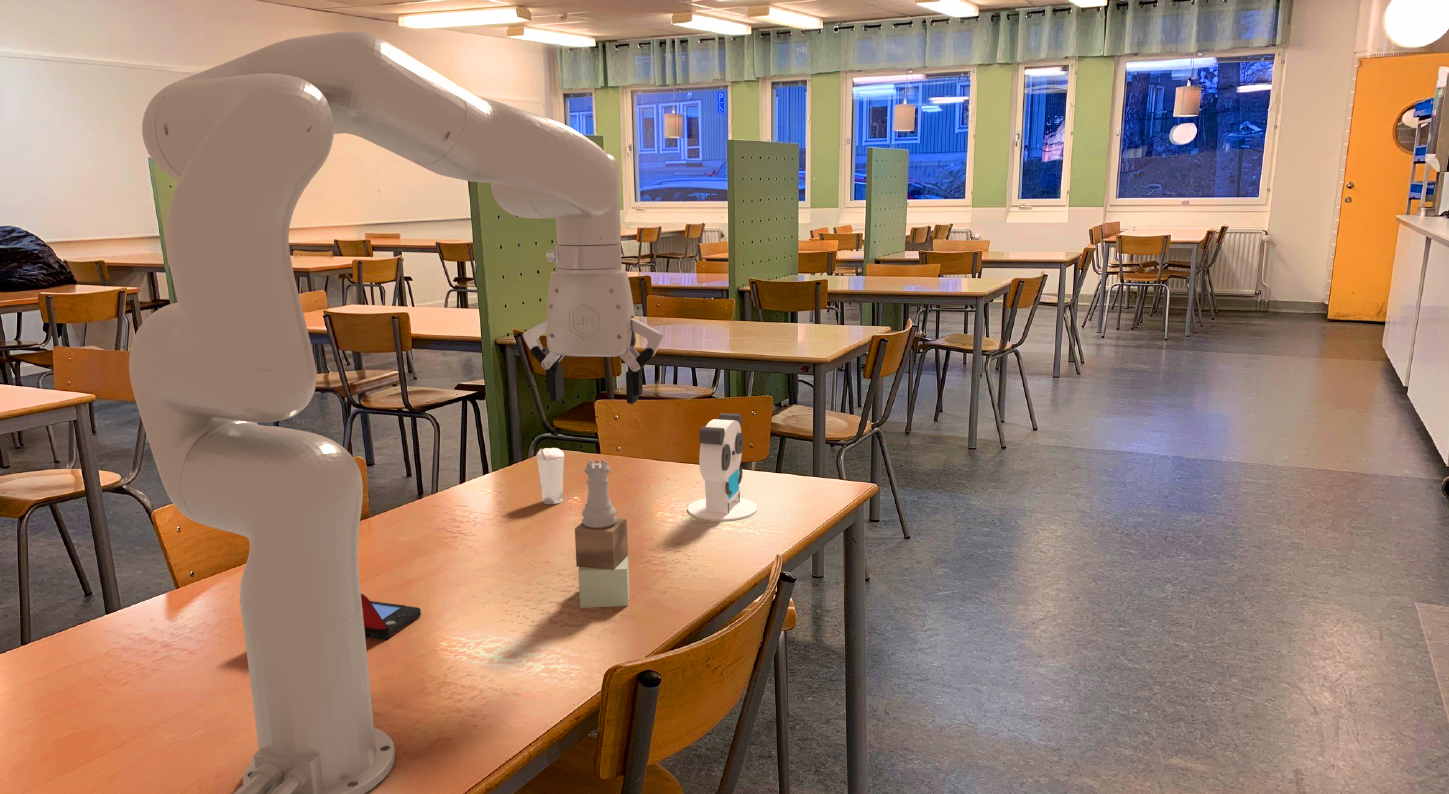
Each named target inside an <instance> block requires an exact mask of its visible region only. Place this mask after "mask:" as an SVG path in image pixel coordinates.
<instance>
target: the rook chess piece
mask: <svg viewBox="0 0 1449 794" xmlns="http://www.w3.org/2000/svg"><path fill="white" fill-rule="evenodd" d="M586 464H587V465H586V467H585V468H584V473H585V474H586V476H587V477H588V479H587V481H586V484H587V486H588V493H587V501H586V504H584V508H583V509H582V513H581V516H582V517H583V518H582V519H581V523H583V524H584V525H585V526H586V527H588V528H593V529H602V528H608V527H611V526H613V525H614V524H615V522H616V521H617V518H618V517H616V515H617V510H616V508H615V507H614V506H613V503H612V500H611V499H610V493H609V490H608V484H609V482H610V480H609V479H608V474H609V473H610V471H611V467H609V465H608V461H606V460H604V459H602V460H601V463H600V459H595V463H594V460H589V461H587V462H586Z"/></svg>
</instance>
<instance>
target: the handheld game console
mask: <svg viewBox="0 0 1449 794" xmlns="http://www.w3.org/2000/svg"><path fill="white" fill-rule="evenodd" d="M361 601H362V609H363V619H364V629H365V638H370V639H371V638H372V639H377V640H384V641H385V640H390V639H391V637H392V636H394V635H396V634H398V632H400V631H401V630H403V629H405V628H406V627H407V626H408V625H411V624H412V623H413V622H414V621H416V620H417V619H419V617H421V616H422V612H421V610H422V609H421V608H420V607H418V606H416V607H415V606H409V605H408V606H407V605H404V604H397V603H388V602H383V601H382V602H380V601H375V600H374V601H372V600H369V598H368V597H367V596H366V595H365V594H363V593H361Z"/></svg>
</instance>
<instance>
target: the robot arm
mask: <svg viewBox="0 0 1449 794" xmlns="http://www.w3.org/2000/svg"><path fill="white" fill-rule="evenodd" d="M141 126H142V127H141V129H142V131H141V132H142V133H141V135H142V139H143V143H144V146H145V149H146V151H147V153H148V155H149V157H150V158H151V159H152V161H153V162H154V164H155V165H156V166H157V167H158V168H159V169H160V170H161V171H162V172H164V173H165V174H166V175H168V176H169V177H171V178H172V179H173V180H176V181H178V182H177V185H176V187H175V189H174V192H173V195H172V197H171V201H170V203H169V206H168V211H167V216H166V219H165V220H166V221H165V228H164V230H165V234H164V235H165V236H164V237H165V238H164V239H165V251H166V256H167V260H168V266H169V270H170V274H171V279H172V282H173V288H174V292H175V293H174V294H175V298H176V301H177V302H174V303H170V304H167V305H164V306H162V307H161V308H159V309H157V310H156V311H154V312H152V313H151V314H150V315H148V316H147V318H146V319H144V321H143V322H142V323H141V325H140V326H139V327H138V328H137V330H136V333H135V335H134V337H133V340H132V341H131V345H130V351H129V360H128V361H129V362H128V371H129V380H130V384H131V385H130V386H131V388H132V389H131V390H132V391H133V396H134V399H135V402H136V405H137V410H138V412H139V415H140V418H141V422H142V425H143V428H144V431H145V434H146V438H147V440H148V443H149V447H150V450H151V453H152V456H153V459H154V462H155V465H156V468H157V472H158V475H159V477H160V478H159V479H160V480H161V483H162V485H163V487H164V489H165V491H166V492H165V493H166V494H167V496H168V498H169V499H170V501H171V502H172V504H173V505H174V507H175V508H176V509H177V510H178V511H179V512H180V513H181V515H183V516H184V517H186V518H187V519H188V520H191V521H193V522H195V523H197V524H200V525H203V526H206V527H209V528H212V529H215V530H221V531H224V532H229V533H233V534H236V535H239V536H242V537H245V538H247V539H248V541H249V552H248V557H247V559H246V563H245V566H244V569H243V572H242V576H241V580H240V587H239V603H240V604H239V605H240V613H241V621H242V625H243V627H242V628H243V634H244V643H245V650H246V658H247V666H248V675H249V681H250V690H251V696H252V705H253V713H254V721H255V731H256V737H257V738H256V739H257V745H258V750H257V751H256V752H254V754H253V755H252V756H253V759H252V761H250V763H249V764H248V766H247V767H246V769H245V771H244V773H243V776H242V778H243V779H242V785H241V787H240V788H238V790H236V791H235V792H234V793H233V794H366V793H367V792H369V791H370V790H372V789H373V788H375V787H376V786H378V784H380V783H381V782H382V781H383V780H384V779H385V778H387V777H386V776H387V775H388V774H389V773H390V772H391V771H392V768H393V766H394V763H395V758H396V755H395V754H396V753H395V745H394V741H393V739H392V738H391V736H389V734H387V733H386V732H384V731H383V730H381V729H379V728H377V727H375V726H374V725H375V723H374V716H373V715H374V713H373V705H372V704H373V701H372V695H371V694H372V692H371V683H370V673H369V661H368V652H367V642H366V641H367V640H366V637H365V629H364V619H363V609H362V601H361V594H362V592H361V584H360V583H361V582H360V570H359V569H360V568H359V534H360V533H359V532H360V523H361V522H360V521H361V515H362V506H363V497H364V495H363V494H364V485H363V484H364V483H363V479H362V478H363V477H362V473H361V470H360V468H359V465H358V463H357V461H356V460H355V458H354V457H353V455H352V454H351V453H350V452H349V451H348V450H347V449H346V448H345V447H344V446H342V445H341V444H339V443H338V442H336V441H334V440H333V439H331V438H328V437H327V436H323V435H321V434H317V433H314V432H310V431H307V430H300V429H293V428H286V427H281V426H275V425H274V426H273V425H263V424H258V423H275V422H280V421H283V420H288V419H291V418H292V417H294V416H296V415H297V414H299V413H300V412H302V411H303V410H304V409H305V408H306V407H307V406H308V405H309V404H310V402H311V400H312V398H313V396H314V394H315V392H316V391H315V390H316V388H317V387H316V386H317V367H316V362H315V358H314V356H315V355H314V352H313V348H312V344H311V343H312V342H311V339H310V335H309V331H308V327H307V322H306V319H305V315H304V312H303V307H302V302H301V299H300V295H299V291H298V286H297V282H296V278H295V274H294V268H293V263H292V257H291V252H290V240H289V239H290V238H289V235H290V226H291V222H292V219H293V218H292V217H293V215H294V211H295V209H296V206H297V204H298V201H299V199H300V198H301V196H302V194H303V192H304V191H305V190H306V188H307V187H308V185H309V184H310V182H311V181H312V179H313V178H314V177H315V175H317V173H318V172H319V171H320V170H321V168H323V166H324V164H325V162H326V160H327V159H328V157H329V156H330V155H329V154H330V152H331V150H332V145H333V141H334V136H335V135H336V134H337V135H339V134H348V135H352V136H355V137H359V138H362V139H364V140H366V141H368V142H370V143H372V144H373V145H376V146H378V147H380V148H383V149H385V150H387V151H389V152H391V153H393V154H396V155H398V156H400V157H401V158H404V159H406V160H408V161H409V162H412V163H414V164H416V165H418V166H420V167H422V168H425V169H426V170H428V171H430V172H433V173H434V174H437V175H440V176H443V177H448V178H452V179H457V180H462V181H467V182H473V183H483V184H490V189H491V193H492V196H493V199H494V200H495V202H496V203H497V204H498V205H499V207H500V208H502V209H503V211H506V212H507V213H508V214H510V215H511V216H512V215H513V216H515V217H518V218H522V219H555V225H556V227H555V229H556V245H555V248H553V249H551V250H550V249H549V250H546V254H545V257H546V260H547V262H553V263H555V265H556V268H557V271H553V272H551V274H550V278H549V283H548V286H549V287H548V294H547V304H546V305H547V306H546V307H547V308H546V320H544V321H542V322H541V323H537V325H535V326H533V327H531V328H530V329H528V330H526V331H524V332H523V334H522V338H523V340H524V341H525V343H526V345H527V347H528V348H529V350H530V354H531V355H532V356H533V357H534V358H535V359H536V361H538V362H539V363H540V365H541V368H542V369H544V370H545V381H546V383H545V384H546V385H545V386H546V393H547V394H548V395H549V401H550V402H551V403H554V402H555V403H556V402H558V401H559V400H560V399H562V398H564V396H565V387H564V385H565V384H564V368H563V366H562V365H560V361H562V359H563V358H564V357H598V358H599V357H603V358H604V357H605V358H608V357H609V358H611V357H612V358H613V357H620V359H622V361H623V362H624V363H625V364H626V365H627V366H628V370H627V371H626V373H625V384H626V385H625V386H626V387H625V389H626V390H625V391H626V393H625V394H626V403H627V404H628V405H634V404H635V403H636V402H638V401H639V400H640V399H639V398H640V397H641V396H642V395H643V368H644V367H645V366H646V364H648V362H650V360H652V359H653V358H654V356H655V355H656V353H657V351H658V349H659V347H660V345H661V343H662V342H663V339H664V334H663V333H662V332H660V331H658V330H657V329H655V328H653V327H652V326H649V325H648V324H646V323H644V322H642V321H640V320H638V319H636V318H635V317H636V316H635V306H634V301H633V295H632V290H631V289H632V288H631V284H630V280H629V276H628V272H627V270H622V237H621V203H620V202H621V201H620V200H621V199H620V176H619V175H620V173H619V172H620V171H619V165H618V162H617V160H616V158H615V157H614V156H613V155H611V154H608V153H606V151H604V149H603V148H601V147H600V146H599V145H598V144H597V143H595V142H594V141H592V140H590V139H589V138H588V137H586V136H585V135H583V134H582V133H580V132H579V131H577V130H575V129H573V128H572V127H570V126H568V125H565V124H564V123H562V122H559V121H556V120H553V119H550V118H548V117H545V116H542V115H538V114H536V113H533V112H529V111H526V110H523V109H520V108H517V107H514V106H511V105H508V104H506V103H502V102H501V101H496V100H494V99H489V98H485V97H482V96H479V95H477V94H475V93H474V92H473V93H472V92H470V91H469V90H467V89H465V88H463V87H462V86H460V85H459V84H458V83H456V82H454V81H452V80H450V79H448V78H447V77H445V76H443V75H442V74H440V73H439V72H437V71H436V70H434V69H432V68H431V67H430V66H428V65H426V64H424V63H423V62H421V61H419V60H418V59H416V58H414V57H413V56H412V55H410V54H408V53H406V52H405V51H404V50H401V49H400V48H398V47H397V46H395V45H393V44H392V43H390V42H388V41H387V40H384V39H383V38H381V37H378V36H376V35H374V34H370V33H368V32H363V31H358V30H357V31H354V30H353V31H349V30H346V31H337V32H330V33H322V34H317V35H316V34H315V35H306V36H299V37H292V38H288V39H285V40H281V41H277V42H275V43H272V44H269V45H267V46H265V47H261V48H259V49H257V50H253V51H252V52H250V53H249V52H248V53H247V54H244V55H242V56H239V57H236V58H234V59H232V60H229V61H226V62H223V63H222V64H219V65H216V66H213V67H211V68H208V69H206V70H203V71H199V72H198V73H195V74H193V75H190V76H187V77H184V78H183V79H180V80H177V81H175V82H172V83H170V84H169V85H166V86H165V87H163V88H161V90H159V91H158V92H157V93H156V94H155V95H154V96H153V97H152V99H151V100H150V102H148V105H147V107H146V109H145V111H144V114H143V118H142V122H141ZM544 334H546V346H547V349H546V347H544V345H542V343H541V341H540V337H541V336H542V335H544ZM637 334H638V335H639V336H641V337H643V338H645V339H646V340H647V344H646V346H645V349H644V350H643V351H641V353H639V352H638V351H637V349H636V348H635V346H636V341H637Z"/></svg>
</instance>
